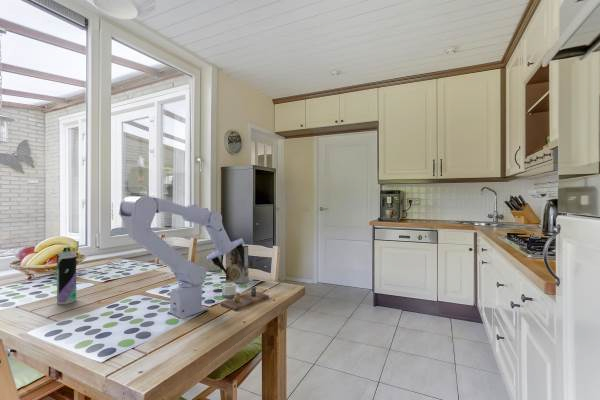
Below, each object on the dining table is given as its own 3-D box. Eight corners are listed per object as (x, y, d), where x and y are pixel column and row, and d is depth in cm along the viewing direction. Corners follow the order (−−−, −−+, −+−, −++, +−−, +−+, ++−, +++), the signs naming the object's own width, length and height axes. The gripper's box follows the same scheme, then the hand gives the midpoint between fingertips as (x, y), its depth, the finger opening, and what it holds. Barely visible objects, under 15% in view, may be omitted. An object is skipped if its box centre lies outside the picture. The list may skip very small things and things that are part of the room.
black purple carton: (65, 305, 99) (65, 249, 99) (52, 303, 100) (52, 248, 100) (80, 299, 104) (80, 246, 104) (68, 298, 105) (68, 246, 106)
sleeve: (228, 299, 105) (228, 287, 105) (219, 296, 108) (219, 285, 108) (238, 295, 109) (238, 284, 109) (230, 293, 112) (230, 282, 112)
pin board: (235, 311, 94) (235, 298, 94) (220, 305, 98) (220, 293, 98) (268, 297, 106) (268, 286, 106) (254, 293, 111) (254, 282, 111)
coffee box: (248, 279, 131) (248, 245, 131) (244, 283, 124) (244, 247, 124) (230, 279, 132) (230, 245, 132) (225, 283, 125) (225, 247, 125)
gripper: (235, 226, 110) (247, 253, 116) (200, 244, 105) (215, 271, 111) (240, 232, 104) (253, 260, 110) (203, 251, 99) (218, 279, 105)
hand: (234, 266), depth 110 cm, fingers open, 7 cm apart
